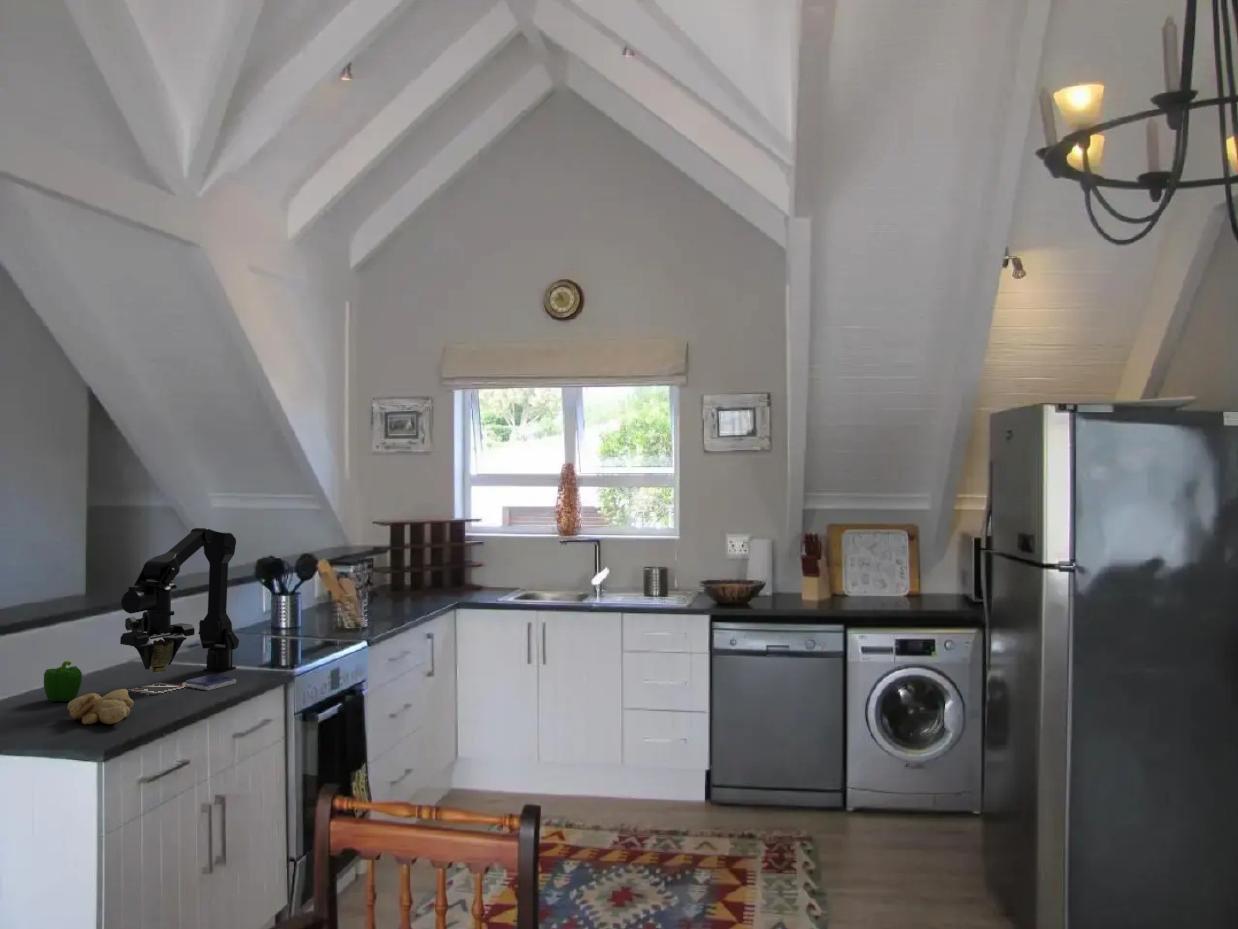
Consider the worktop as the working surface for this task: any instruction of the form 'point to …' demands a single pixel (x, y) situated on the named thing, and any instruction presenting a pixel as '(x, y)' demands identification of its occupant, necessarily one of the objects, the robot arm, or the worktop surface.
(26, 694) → the worktop surface
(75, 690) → the bell pepper
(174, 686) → the marked card
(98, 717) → the ginger root
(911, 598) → the worktop surface
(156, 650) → the ornate bronze cup
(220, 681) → the ink pad
